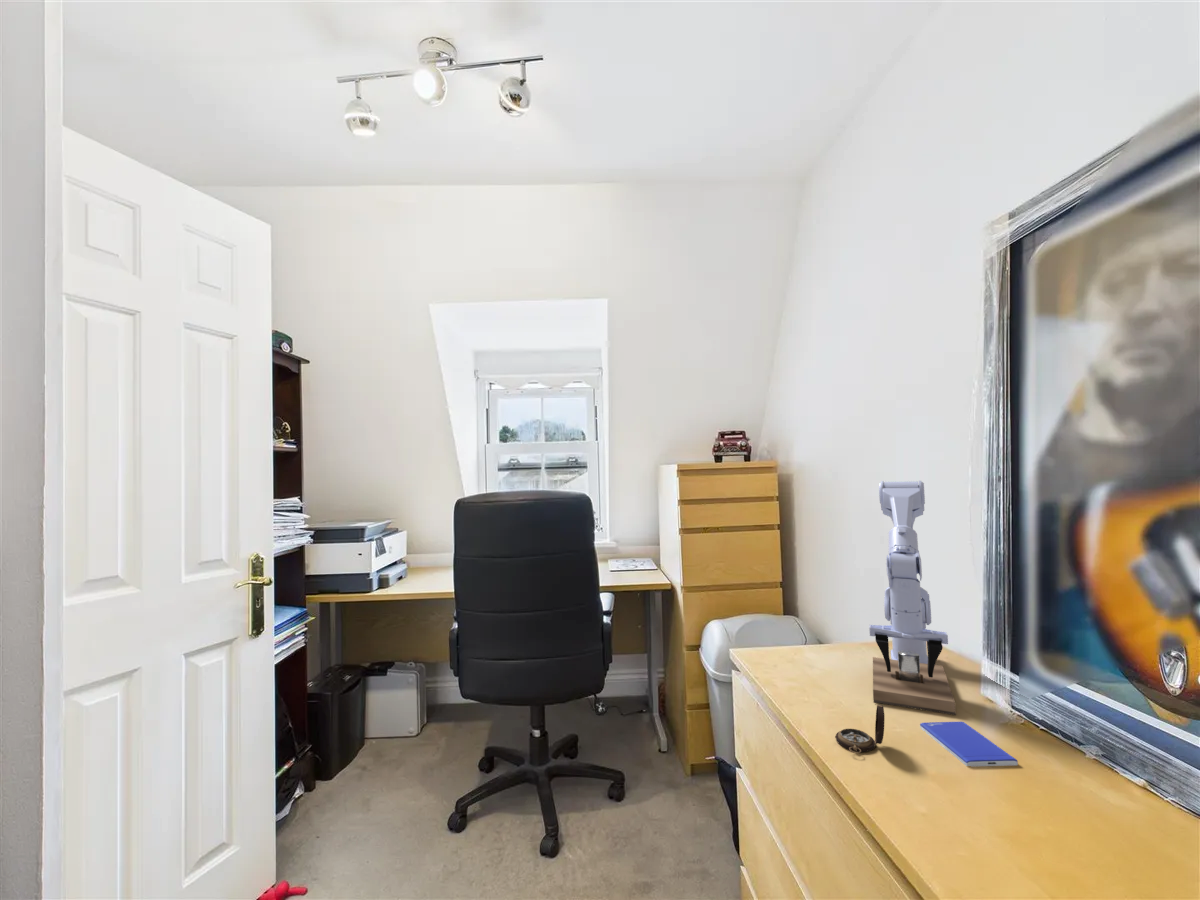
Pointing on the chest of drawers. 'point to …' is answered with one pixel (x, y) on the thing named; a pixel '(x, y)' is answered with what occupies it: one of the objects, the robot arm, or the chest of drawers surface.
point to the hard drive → (967, 744)
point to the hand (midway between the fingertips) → (909, 672)
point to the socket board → (912, 688)
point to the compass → (862, 735)
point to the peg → (909, 666)
